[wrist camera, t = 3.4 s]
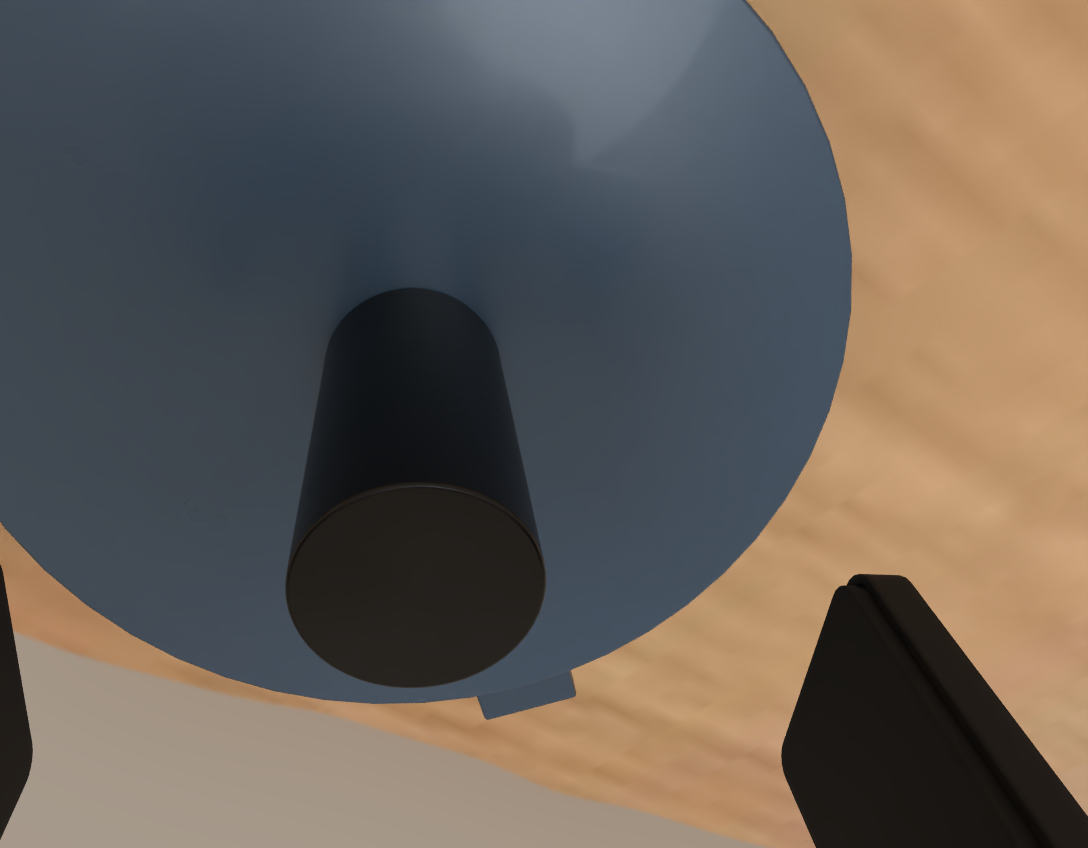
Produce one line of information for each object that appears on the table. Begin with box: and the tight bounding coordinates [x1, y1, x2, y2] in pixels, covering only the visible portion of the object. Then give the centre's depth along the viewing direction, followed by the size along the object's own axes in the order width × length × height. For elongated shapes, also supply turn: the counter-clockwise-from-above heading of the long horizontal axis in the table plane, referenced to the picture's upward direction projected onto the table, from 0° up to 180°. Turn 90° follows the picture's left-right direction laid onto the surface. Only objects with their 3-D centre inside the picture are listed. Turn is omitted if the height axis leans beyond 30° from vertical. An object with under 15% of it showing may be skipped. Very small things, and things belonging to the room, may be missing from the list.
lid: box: [0, 0, 852, 704], centre depth 15 cm, size 17×17×8 cm
